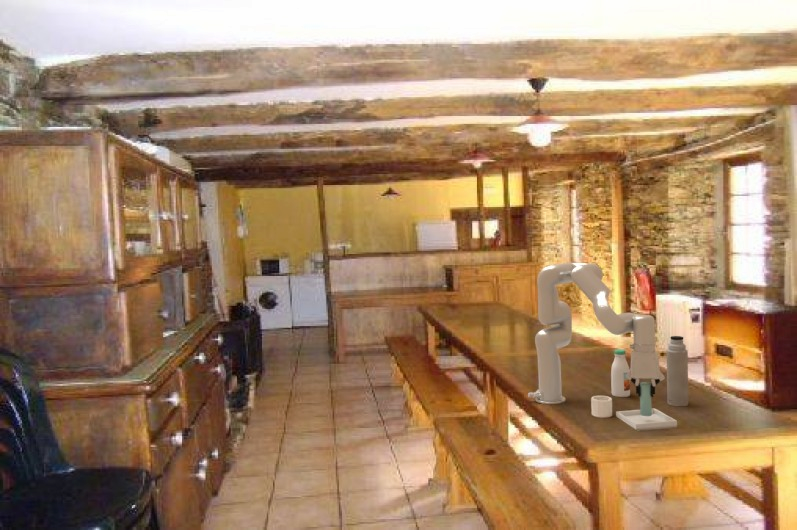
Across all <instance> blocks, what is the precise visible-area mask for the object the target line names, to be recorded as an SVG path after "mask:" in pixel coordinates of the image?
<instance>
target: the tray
mask: <svg viewBox="0 0 797 530" xmlns="http://www.w3.org/2000/svg"><path fill="white" fill-rule="evenodd" d="M615 417H616V418H618V419H620V420H621V421H623V422H624V423H625V424H627V425H628V426H630V427H631V428H632V429H633V430H636V431H635V432H638V431H637V430H642V431H650V430H651V431H653V429H654V430H662V429H673V428H678V421H677V420H676V419H675V418H673V417H671V416H669V415H667V414H665V412H662V411H660V410H659V409H657V408H652V415H651V416H642V415H640V409H632V410H630V409H629V410H622V411H621V410H619V411H615Z"/></svg>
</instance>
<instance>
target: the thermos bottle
mask: <svg viewBox="0 0 797 530" xmlns="http://www.w3.org/2000/svg"><path fill="white" fill-rule="evenodd" d="M688 359H689V356H688V350H687V346H686V344H685V343H684V336H681V335H673V336H670V343H669V344H668V345H667V349H666V393H667V394H666V395H667V397H666V398H667V402H666V403H667V404H668V405H670V406H673V407H686V406H689V361H688Z"/></svg>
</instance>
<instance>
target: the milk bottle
mask: <svg viewBox="0 0 797 530" xmlns="http://www.w3.org/2000/svg"><path fill="white" fill-rule="evenodd" d="M613 351H614V360H613V362H612V364H611V368H610V369H611V371H610V379H611V380H610V381H611V385H610V386H611V387H610V388H611V396H613V397H616V398H626V397H627V398H628V397H630V396H631V380H629V379H627V378H626V374H627V373H628V372H629V370H630V366H629V364H628V362H627V359H626V353H627V352H626V350H625V349H621V348H618V349H614V350H613Z"/></svg>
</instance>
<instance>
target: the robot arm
mask: <svg viewBox="0 0 797 530" xmlns="http://www.w3.org/2000/svg"><path fill="white" fill-rule="evenodd" d="M603 272H604V271H603V270H602V268H601V267H600V266H599V265H597V264H596V263H586V262H585V263H583V262H581V263H580V262H565V263H557V264H551V265H547V266H546V267H543V268H542V269H541V270H540V271H539V273H538V275H537V279H536V281H537V282H536V283H537V293H538V294H537V296H538V298H537V300H538V301H537V307H538V309H537V313H538V314H537V315H538V316H537V317H538V320H539V323H540V324H541V325H543V326H549V327H545V328H543V329H540V330H539V331H538V332H537V333H536V334H535V337H534V344H535V348H536V353H537V355H536V356H537V371H538V374H537V375H538V389H536V391H535V392H528V393H527V396H528V397H527V398H533V399H534V398H535V402H537V403H539V404H542V405H543V404H545V405H546V404H548V405H555V404H561V403H565V402H566V397H565V396H563V395H562V363H561V362H562V361H561V357H560V354H559V352H558V349H561V348H564V347H566V346H568V345H569V344H570V343H571V341H572V336H573V335H572V334H573V333H572V332H573V331H572V329H573V328H572V326H573V322H572V321H573V317H572V316H573V315H572V314H573V313H572V309H571V308H570V305H569V304H568V303H566V302H565V301H562V300H559V299H560V297H559V296H560V295H559V291H558V288H557V286H559V285H563V284H571V283H574V284H575V286H576V287H578V289H579V290H580V291H581V292H582V293H583V294H584V295H585V297H587V298H588V300H589V301H590V302H591V304H592V307H593V312H594V315H595V317H596V318H597V320H598V321H599V322H600V324H601V325H602V326H603V327H604V328H605V329H606V331H608V332H609V333H610V334H612V335H615V336H618V335H625V334H628V333H629V334H630V333H632V332H633V337H632V338H633V343H632V344H629V349H632V350H631V355H630V368H629V372H628V373H627V374H626V378H627V379H629V380H630V382H632V383H633V384H634V386H635V393H636V395H637V396H638V397H639V398H640V380H650V381H651V382H650V383H651V398H654V395H656V386H657V385H658V384H659V383H660V382H662V381H663V380H665V379H666V377H665V375H664V374H663V372H662V371H661V370H660V368H661V367H660V359H659V358H660V357H659V353H658V352H657V351H656V336H655V335H656V334H655V333H656V332H655V317H654V316H652V315H649V314H638V313H634V312H623V313H619V314H617V313H616V312H615V311H614V310H613V309H612V307H611V306H610V305H609V302H608V297H609V296H610V293H611V290H610V288H609V287H608V286H607V285H606V284H605V282H603V277H604V273H603ZM550 326H551V327H550Z"/></svg>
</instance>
